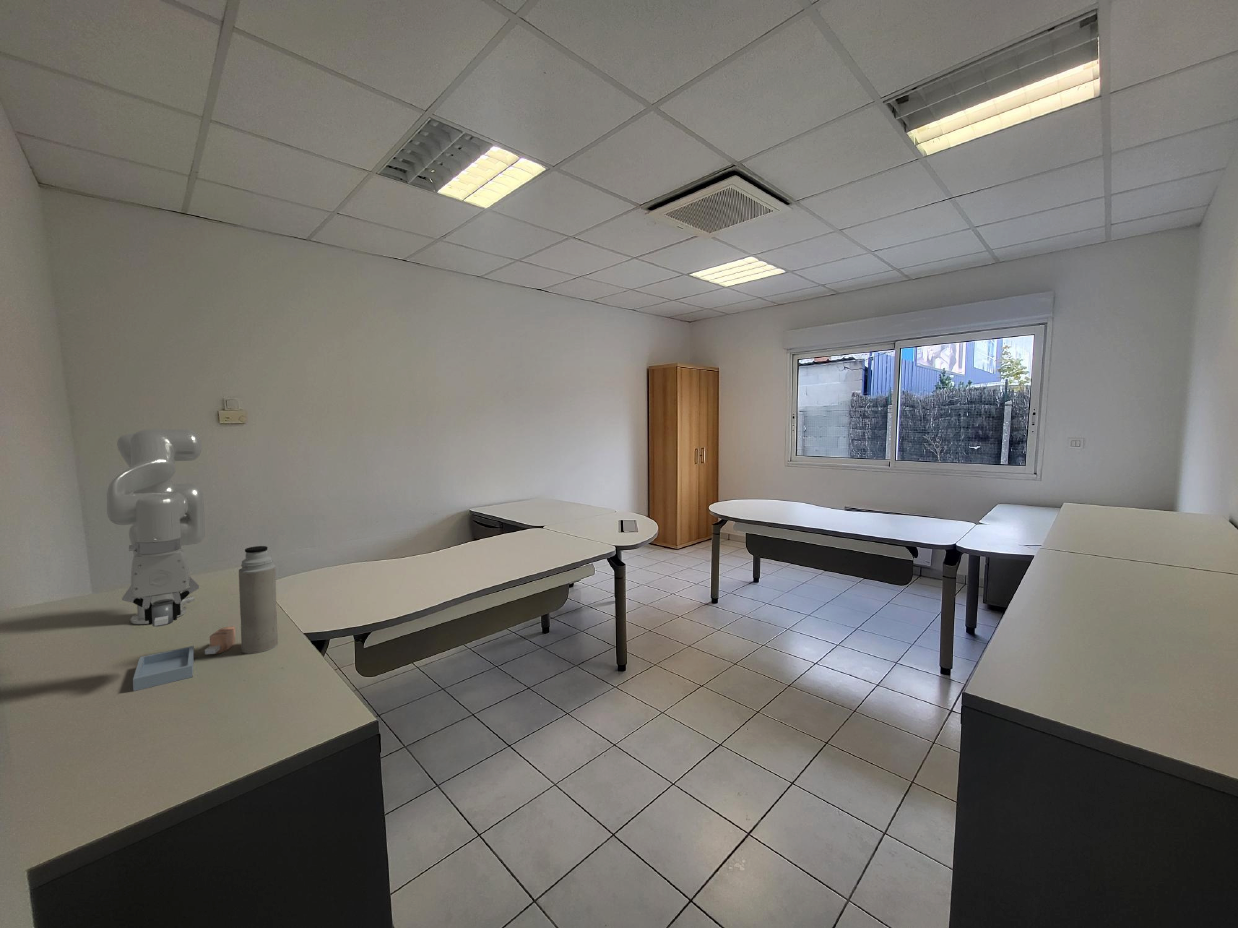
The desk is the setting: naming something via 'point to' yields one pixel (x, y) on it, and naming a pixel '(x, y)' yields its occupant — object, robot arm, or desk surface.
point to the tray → (164, 668)
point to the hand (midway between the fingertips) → (163, 619)
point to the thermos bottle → (258, 601)
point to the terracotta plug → (221, 640)
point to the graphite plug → (162, 612)
